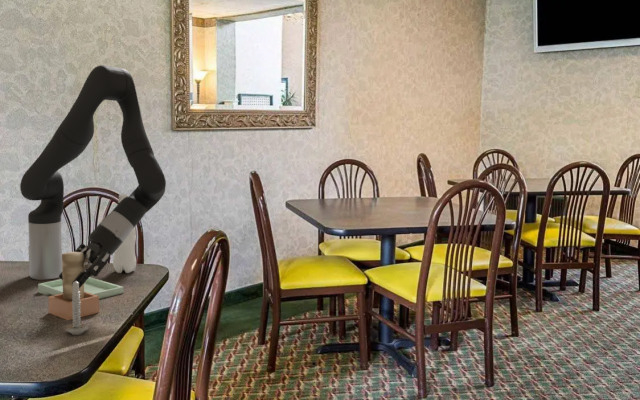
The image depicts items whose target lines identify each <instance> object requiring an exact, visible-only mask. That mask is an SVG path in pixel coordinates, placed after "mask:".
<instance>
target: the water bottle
mask: <svg viewBox="0 0 640 400" xmlns="http://www.w3.org/2000/svg"><path fill="white" fill-rule="evenodd" d="M129 196H130V194H125V193H124V194H123V193H122V194H119V195H118V201H117V204H119V203H120V202H121V200H123V199H124V198H125V197H129ZM136 241H137V235H136V226H135V227H134V228H133V229H132V231H131V232H130V234H129V235H128V237H127V238H126V239H125V240H124V241H123V243H122V244H121V245H120V246H119V247H118V248H117V250H116V251H115V252H114V253H113V257H112V258H113V259H112V266H113V268H114V270H115V272H116V273H117V274H122V272H123V271H124V272H125V274H131V273H132V272H133V271H135V270H136V267H137V257H136V252H135V251H136V246H135V245H136Z"/></svg>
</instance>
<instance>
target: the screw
mask: <svg viewBox="0 0 640 400" xmlns="http://www.w3.org/2000/svg"><path fill="white" fill-rule="evenodd" d="M79 292H80V291H79V283H78V282H77V281H75V282H73V293H72V294H73V295H72V297H73V298H72V299H73V301H72V302H73V303H72V304H73V306H72V307H73V308H72V309H73V311H72V312H73V316H72V317H73V319H72V320H71V322H72V323H71V324H68V325H67V326H66V327H65V330H64V331H66V332H68V333H70V334H71V335H72V336H80V335H82V334H84V332H85V331H87V330H88V329H89V325H87V323H82V317H81V316H80V315H81V314H80V313H81V311H80V310H81V309H80V307H81V306H80V305H81V304H80V300H81V299H80V293H79Z"/></svg>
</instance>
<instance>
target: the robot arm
mask: <svg viewBox="0 0 640 400" xmlns="http://www.w3.org/2000/svg"><path fill="white" fill-rule="evenodd" d="M104 101H113V102H114V101H115V102H117V104H118V106H119V108H120V110H121V113H122V126H121V133H120V140H121V146H122V148H123V150H124V154H125V156H126V158H127V161H128V164H129V165H130V166H131V168H133V172H134V175H135V177H136V180H137V183H138V185H137V187H136V188H135V189H134V190H133V191H132V192H131V194H129V197H125V198H124V199H123V200H121V202H120V203H117V205H116V206H115V207H114V208H113V209H112V210H111V211H110V212H109V213H108V214H107V215H106V216H105V217H104V218H103V219H102V220H101V221H100V223H99V224H98V225H97V226H96V227H95V228H94V229H93V231H91V233H90V234H89V235H88V237H87V238H88V241H89V244H88V245H85V243H81V244H80V245H78V247H77V248H76V249H75V250H74V251H73V252H82V253H84V269H83V272H81V273H80V274H79V275H78V276H77V277H76V278H75V280H74V281H73V282H75V281H77V282H78V283H79V288H80V287H81V286H82V285H83V284H84V283H85V281H86V280H87V279H88V278H89V277H91V278H95V277H97V276H99V274H100V273H101V272H102V270H103V268H104V267H106V265H107V264H108V263H109V261H110V260H111V256H112V255H114V252H115V251H116V250H117V248H118V247H119V246H120V245H121V244H122V243H123V241H124V240H125V239H126V238H127V237H128V235H129V234H130V232H131V231H132V229H133V228H134V227H135V228H136V226H137V224H138V223H139V222H140V221H141V220H142V219H143V217H144V216H145V215H146V213H148V212H149V211H150V210H151V209H152V208H153V207H155V206H156V205H157V204H158V202H159V201H160V200H161V199H162V198H163V196H164V194H165V192H166V187H167V182H166V177H165V173H164V172H163V170H162V168H161V165H160V164H159V162H158V160H157V159H156V156H155V153H154V151H153V148H152V145H151V142H150V140H149V138H148V135H147V133H146V132H147V131H146V130H145V126H144V123H143V119H142V114H141V112H142V111H141V108H140V103H139V99H138V94H137V90H136V85H135V82H134V78H133V76H132V74H131V73H130V72H129V70H127V69H125V68H122V67H116V66H111V65H97V66H95V67H94V68H92V70H91V71H90V73H89V74H88V76H87V78H86V80H85V81H84V83H83V86H82V88H81V90H80V91H79V94H78V95H77V98H76V100H75V101H74V103H73V105H72V106H71V108H70V109H69V111H68V113H67V114H66V116H65V117H64V118H63V120H62V121H61V123H60V125H59V126H58V127H57V129H56V131H55V132H54V134H53V136H52V137H51V139H50V140H49V142H48V143H47V145H46V146H45V148H44V149H43V150H42V151H41V153H40V154H39V156H38V157H37V158H36V160H35V161H34V162H33V163H32V164H30V166H29V168H27V169H26V171H25V173H24V174H23V175H22V178H21V181H20V184H19V189H20V193H21V195H22V197H23V198H24V199H26V200H29V201H40V204H39V205H38V206H37V207H36V208H35V209H33V210H32V211H31V210H30V212H28V214H27V215H28V217H27V219H28V220H27V222H28V269H29V270H28V271H29V272H28V274H29V277H30V278H31V279H33V280H38V281H39V280H52V279H58V278H59V280H60V279H62V280H63V276H62V254H63V247H62V246H63V244H62V243H63V242H62V214H63V212H64V195H65V193H64V192H65V190H64V189H65V188H64V184H65V183H64V179H63V176H62V174H61V173H60V172H59V170H60V169H62V168H64V167H65V166H66V165H68V164H70V163H71V162H72V161H74V160H75V159H77V158H78V157H79V156H80V155H81V154H82V153H83V152H84V151H85V149H86V148H87V147H88V146H89V144H90V142H91V141H92V139H93V137H94V134H95V125H94V124H95V121H94V117H95V113H96V111H97V110H98V108H99V107H100V105H101V104H102V103H103V102H104ZM73 282H72V285H73Z"/></svg>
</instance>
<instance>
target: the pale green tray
mask: <svg viewBox="0 0 640 400" xmlns="http://www.w3.org/2000/svg"><path fill="white" fill-rule="evenodd" d="M37 289H38V290H37V291H38V293H39V294H41V295H45V296H48V295H50V296H53V295H58V294H63V280H62V279H60V278H59V279H56V280H50V281H46V282H42V283H38V284H37ZM124 289H125V287H124V286H122V285H118V284H116V283H111V282H108V281H105V280H101V279H97V278H95V277H89V278H88V279H87V280H86V281H85V283H84V291H85V292H88V293H91V294H94V295H97V296H99V300H100V299H104V298H110V297H113V296H117V295H118V296H119V295H122V294H124V293H125V291H124Z"/></svg>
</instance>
